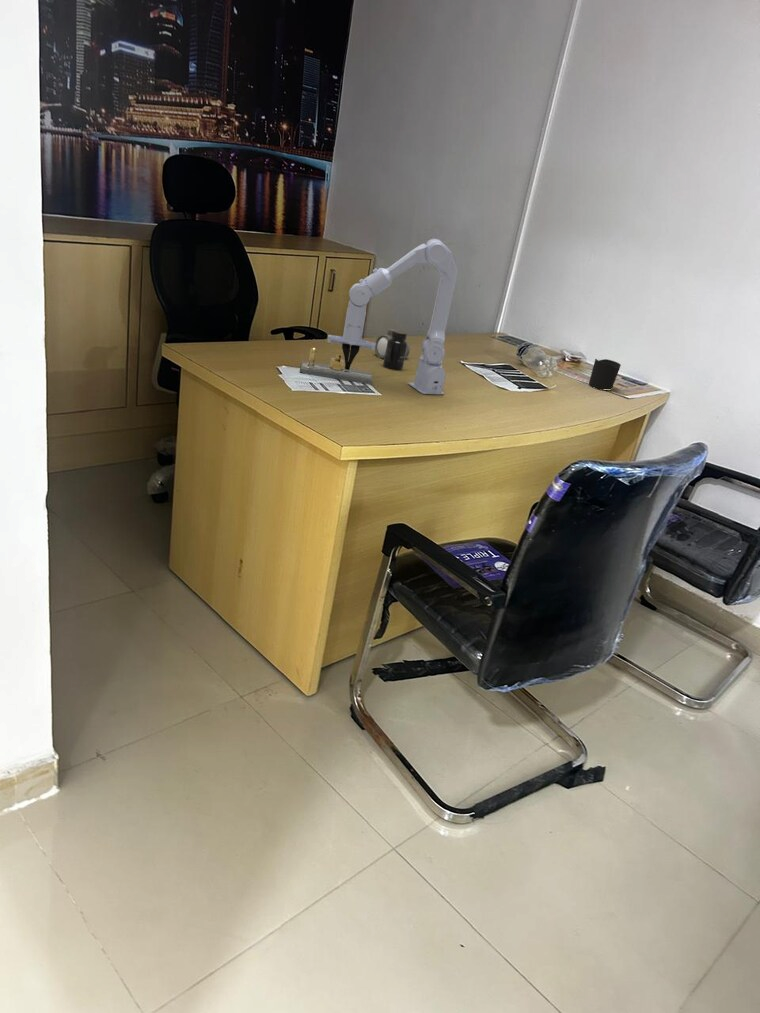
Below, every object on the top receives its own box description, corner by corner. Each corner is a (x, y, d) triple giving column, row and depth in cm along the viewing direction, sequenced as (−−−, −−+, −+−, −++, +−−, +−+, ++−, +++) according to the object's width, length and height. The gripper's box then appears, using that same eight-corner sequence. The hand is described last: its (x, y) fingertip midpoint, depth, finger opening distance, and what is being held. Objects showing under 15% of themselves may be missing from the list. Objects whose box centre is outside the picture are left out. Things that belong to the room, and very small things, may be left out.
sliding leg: (342, 368, 225) (344, 354, 223) (342, 373, 219) (344, 359, 217) (329, 366, 224) (332, 352, 222) (329, 371, 219) (331, 357, 217)
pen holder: (613, 393, 268) (622, 367, 264) (588, 387, 269) (596, 361, 265) (611, 387, 277) (619, 362, 273) (586, 381, 278) (594, 356, 274)
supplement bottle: (402, 371, 241) (409, 336, 236) (382, 368, 240) (389, 332, 235) (402, 366, 247) (409, 331, 242) (383, 363, 247) (389, 328, 242)
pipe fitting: (385, 360, 249) (392, 330, 246) (371, 355, 254) (377, 326, 251) (411, 363, 257) (417, 334, 254) (396, 358, 262) (403, 330, 259)
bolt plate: (370, 375, 229) (374, 354, 226) (371, 384, 220) (376, 362, 217) (301, 364, 227) (304, 342, 224) (300, 372, 218) (303, 349, 215)
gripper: (330, 323, 213) (323, 368, 218) (378, 332, 214) (370, 376, 220) (330, 318, 219) (324, 362, 225) (377, 327, 221) (369, 370, 226)
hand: (347, 368), depth 223 cm, fingers closed
